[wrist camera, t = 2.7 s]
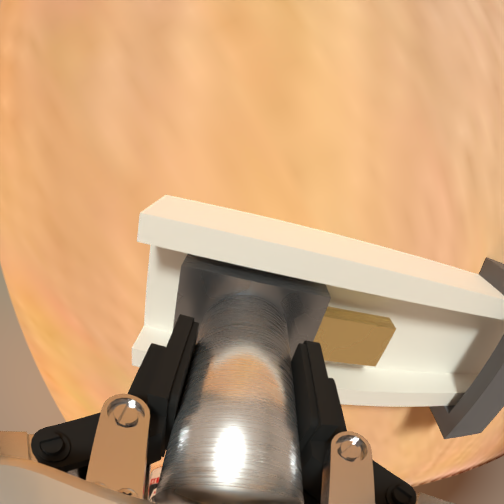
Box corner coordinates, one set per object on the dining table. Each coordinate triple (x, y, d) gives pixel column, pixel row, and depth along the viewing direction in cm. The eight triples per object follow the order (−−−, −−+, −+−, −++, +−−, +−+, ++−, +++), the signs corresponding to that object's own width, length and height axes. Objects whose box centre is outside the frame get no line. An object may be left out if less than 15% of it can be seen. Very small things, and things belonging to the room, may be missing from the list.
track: (524, 272, 16) (571, 309, 10) (461, 384, 19) (488, 431, 14) (169, 170, 14) (122, 192, 9) (150, 342, 18) (120, 406, 13)
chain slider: (395, 292, 14) (497, 455, 5) (359, 364, 16) (408, 524, 7) (191, 246, 14) (91, 439, 4) (179, 332, 15) (118, 510, 6)
